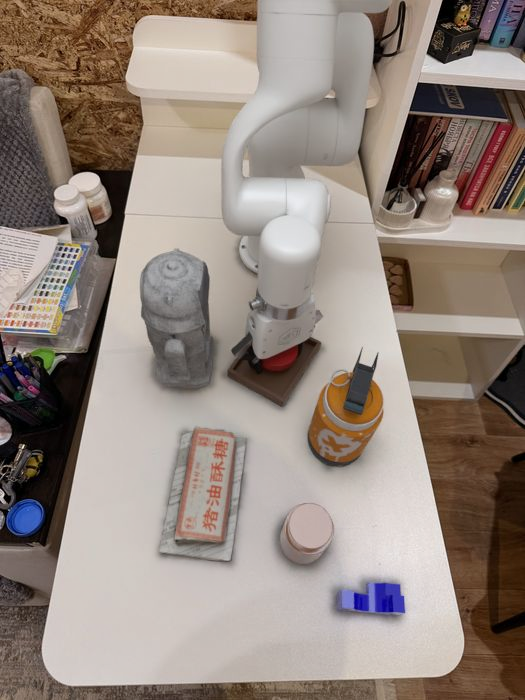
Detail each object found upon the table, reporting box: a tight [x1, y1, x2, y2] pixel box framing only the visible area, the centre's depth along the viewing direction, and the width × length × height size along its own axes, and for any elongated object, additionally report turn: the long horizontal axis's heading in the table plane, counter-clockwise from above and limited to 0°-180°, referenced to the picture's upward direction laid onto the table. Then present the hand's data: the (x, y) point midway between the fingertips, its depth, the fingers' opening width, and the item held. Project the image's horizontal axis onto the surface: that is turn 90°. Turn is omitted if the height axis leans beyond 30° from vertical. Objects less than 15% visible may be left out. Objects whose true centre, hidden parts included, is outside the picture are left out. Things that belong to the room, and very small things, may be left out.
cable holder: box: [336, 582, 406, 616], centre depth 67 cm, size 8×4×4 cm, turn 85°
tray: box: [227, 336, 322, 407], centre depth 86 cm, size 13×11×2 cm
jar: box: [279, 502, 335, 565], centre depth 68 cm, size 6×6×10 cm
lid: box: [262, 344, 298, 371], centre depth 84 cm, size 7×7×2 cm
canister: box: [307, 346, 385, 467], centre depth 72 cm, size 9×11×20 cm
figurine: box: [139, 247, 215, 389], centre depth 76 cm, size 10×14×25 cm
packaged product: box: [158, 425, 248, 562], centre depth 73 cm, size 18×5×10 cm
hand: (275, 356), depth 86 cm, fingers closed on lid, 7 cm apart
